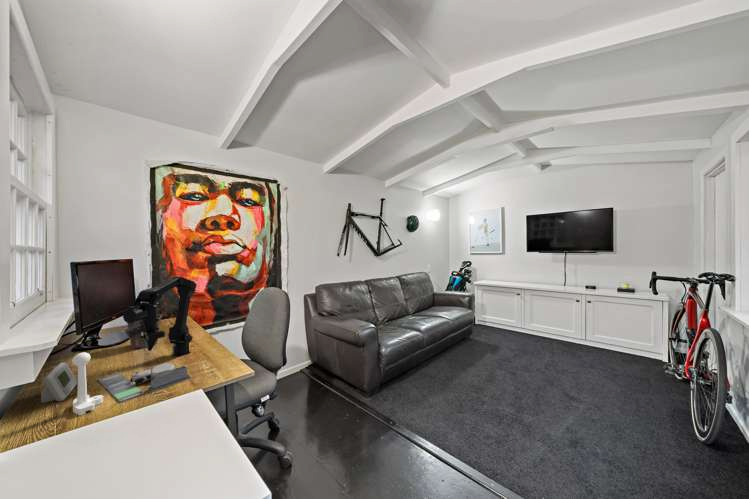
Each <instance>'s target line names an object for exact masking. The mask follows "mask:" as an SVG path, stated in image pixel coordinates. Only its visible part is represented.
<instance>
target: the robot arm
mask: <svg viewBox="0 0 749 499" xmlns="http://www.w3.org/2000/svg"><path fill="white" fill-rule="evenodd" d="M196 288H197V282H195V280H191V279H188V278H185V277H184V276H172V277H171V278H169V279H168V280H167V279H166V280H165V281H164V282H162V283H161V284H158V285H157V286H155V287H149V288H146V289H142V290H140V292H139V293H138V295H137V296H136V298H135V300H134V301H133V304H132V306H128V307H127V310H125V311H124V313H123V315H122V319H123V321H124V322H126V324H127V323H133V322H136V321H139V320H140V321H139V324H137V325H134V326H132V327H130V328H128V327H127V328H126V329H124V333H125V335H126V337H128V338H129V339H130V338H132V337H134V336H135V335H137V334H139V333H141V336H139V337H141V338H142V339H144V341H145V344H146V349H147V351H148V352H150V351H152V350H153V349H154V346H155V345H156V344H155V343H156V341H157V339H158V340H159V339H161V338H165V337H166V332H165V331H163V330H161V329H160V326H159V327H157V321H159V319H158V318H157V315H158V307H159V306H161V305H162V304H161V303H160V302H159V301H160V300H161V299H162V298H163V297H164V296H163V295H164V294H166V293H168V292H169V291H172V290H173V289H176V290H177V291H176V292H177V294H178V296H179V298H178V299H179V300H178V305H177V310H176V316H175V322H174V325H172V327H171V326H170V327H169V329H168V333H167V338H168V340H169V343H170V345H171V344H173V346H172V347H171V348H172V349H171V350H172V354H171V355H173V356H175V357H176V358H177V357H181V356H184V355H187V354H190V353H191V351H190V343H192V341H193V338H194V337H193V336H192V334H190V333H189V329H190V328H189V327H188V325H187V321H188V317H189V316H188V314H189V309H190V303H191V298H192V296H193V295H194V294H195V292H196ZM154 344H155V345H154Z"/></svg>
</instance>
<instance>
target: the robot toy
mask: <svg viewBox="0 0 749 499" xmlns="http://www.w3.org/2000/svg"><path fill="white" fill-rule="evenodd" d="M173 369H176V367H175V365H174V364H173V361H171V360H170V361H169V362H166V363H162V364H158V365H155V366H154V367H153V368H152V369H151V370H150V369H145V370H142V371H137V372H135V373H132V375H131V378H130V382H131V383H130V385H135V386H136V385H137V386H138V385H139V384H140V385H141V384H143V383H145V382H147V381H151V376H154V375H157V374H160V373H164V372H167V371H170V370H173Z"/></svg>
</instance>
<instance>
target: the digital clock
mask: <svg viewBox="0 0 749 499" xmlns="http://www.w3.org/2000/svg"><path fill="white" fill-rule="evenodd" d="M43 382H44V384H45V385H46V386H45V387H44V388H43V389H42V390H41V392H40V400H41V402H40V403H48V402H53V401H56V402H62V401H64V400H65V399H66V398H68V396H69V395H70V393H71V392H72V391H73V390H74V388H75V387H76V385H78V379H77V377H75V375H74V373H73V372H72V370H71V369H70V367H69V365H68V364H67V362H60V363H58V364H57V365H56V366H55V367H53V368H52V370H51V371H49V372H48V373H47V375H46V376H45V377H44V378H43Z"/></svg>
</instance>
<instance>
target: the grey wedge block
mask: <svg viewBox="0 0 749 499" xmlns="http://www.w3.org/2000/svg"><path fill="white" fill-rule="evenodd" d="M188 380H191V375H188V367H187V366H185V365H182V366H180V367H177V368H176V367H175V369H173V370H170V371H167V372H164V373H160V374H157V375H154V376H151V379H150V386H149V387H147V391H148V392H150V393H154V392H156V391H157V392H158V391H159V390H160V391H161V390H163V389H166V388H168V387H170V386H174V385H176V384H179V383H182V382H185V381H188Z"/></svg>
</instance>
